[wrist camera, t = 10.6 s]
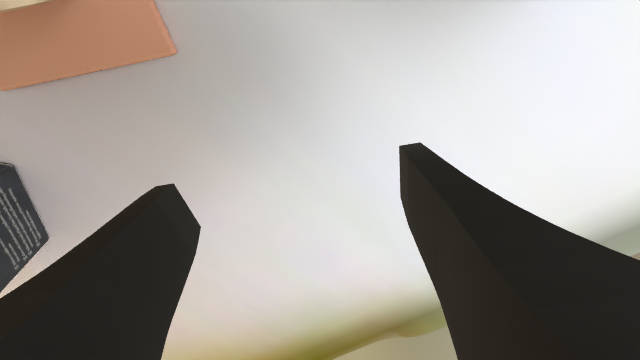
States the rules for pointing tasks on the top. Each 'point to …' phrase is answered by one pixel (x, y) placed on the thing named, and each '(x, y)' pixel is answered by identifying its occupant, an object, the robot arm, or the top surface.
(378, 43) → the top surface
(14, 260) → the box
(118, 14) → the mat
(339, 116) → the top surface
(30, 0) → the label block
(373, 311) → the top surface
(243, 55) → the top surface
